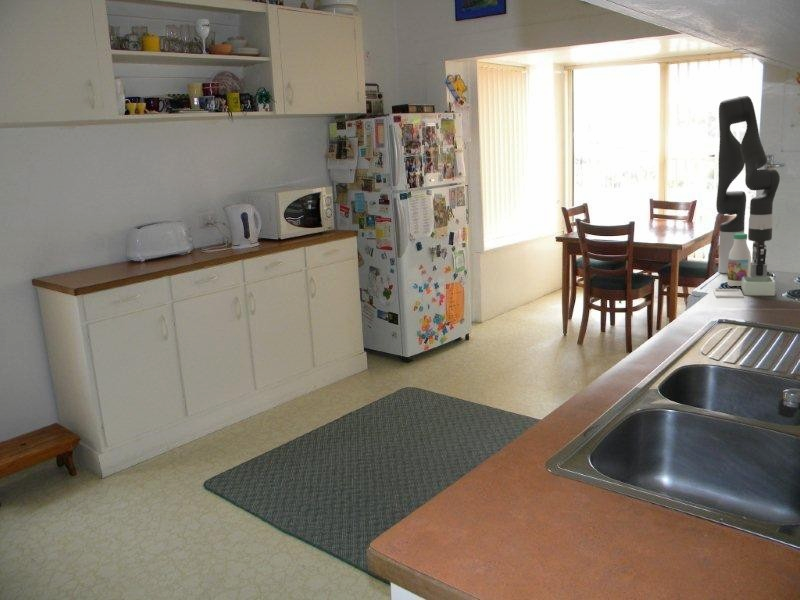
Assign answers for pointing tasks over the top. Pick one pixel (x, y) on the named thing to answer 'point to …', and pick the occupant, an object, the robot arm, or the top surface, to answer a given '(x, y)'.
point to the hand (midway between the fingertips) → (758, 273)
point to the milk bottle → (739, 260)
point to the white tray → (728, 293)
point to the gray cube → (753, 270)
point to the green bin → (758, 286)
